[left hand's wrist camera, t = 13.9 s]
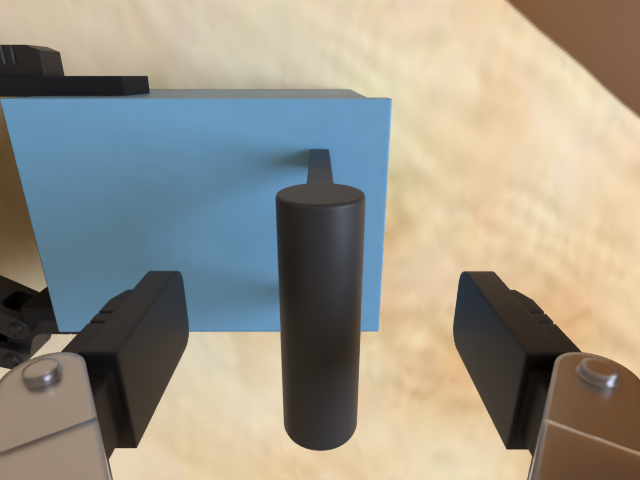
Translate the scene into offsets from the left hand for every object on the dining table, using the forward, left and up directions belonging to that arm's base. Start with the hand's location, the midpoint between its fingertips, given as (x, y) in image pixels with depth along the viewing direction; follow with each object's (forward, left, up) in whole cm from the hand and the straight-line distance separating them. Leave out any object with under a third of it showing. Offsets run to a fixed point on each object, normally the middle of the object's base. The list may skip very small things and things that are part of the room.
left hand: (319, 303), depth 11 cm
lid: (-1, +4, -7) cm, 8 cm away
